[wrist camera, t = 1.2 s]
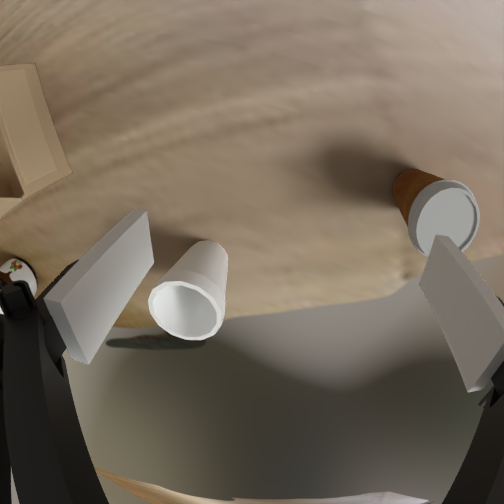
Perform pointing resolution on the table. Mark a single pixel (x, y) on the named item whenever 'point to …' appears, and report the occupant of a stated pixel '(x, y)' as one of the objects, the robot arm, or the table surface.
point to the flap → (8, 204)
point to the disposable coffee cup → (436, 209)
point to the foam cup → (192, 293)
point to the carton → (27, 137)
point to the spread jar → (17, 274)
